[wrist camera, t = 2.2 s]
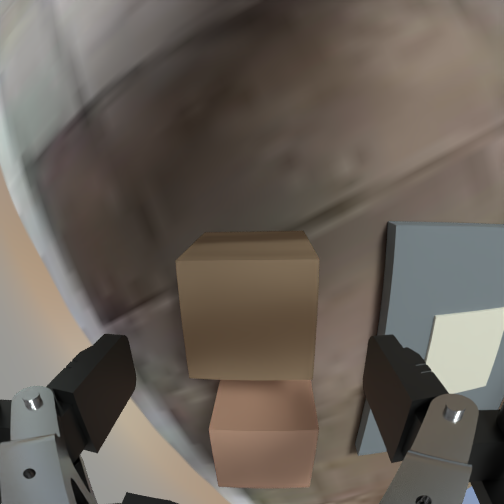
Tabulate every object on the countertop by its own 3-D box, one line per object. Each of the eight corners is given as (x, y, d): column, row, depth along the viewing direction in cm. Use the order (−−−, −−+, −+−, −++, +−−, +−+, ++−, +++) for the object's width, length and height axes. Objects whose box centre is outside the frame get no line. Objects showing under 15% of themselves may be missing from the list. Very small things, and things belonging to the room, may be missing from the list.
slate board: (387, 221, 16) (397, 225, 15) (536, 226, 15) (549, 229, 14) (355, 444, 20) (358, 457, 18) (484, 416, 19) (491, 426, 18)
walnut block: (204, 232, 17) (175, 260, 11) (303, 230, 16) (319, 259, 11) (210, 321, 18) (189, 377, 13) (301, 320, 18) (312, 379, 12)
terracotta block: (223, 365, 19) (208, 429, 13) (307, 365, 18) (318, 429, 13) (228, 424, 20) (218, 486, 14) (303, 424, 19) (309, 487, 14)
